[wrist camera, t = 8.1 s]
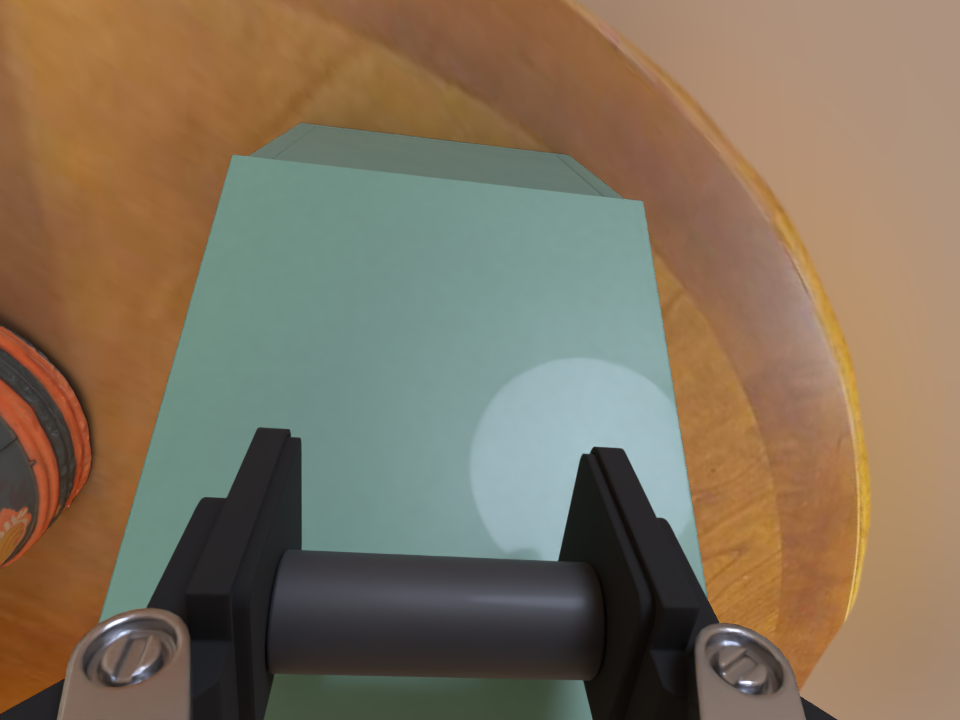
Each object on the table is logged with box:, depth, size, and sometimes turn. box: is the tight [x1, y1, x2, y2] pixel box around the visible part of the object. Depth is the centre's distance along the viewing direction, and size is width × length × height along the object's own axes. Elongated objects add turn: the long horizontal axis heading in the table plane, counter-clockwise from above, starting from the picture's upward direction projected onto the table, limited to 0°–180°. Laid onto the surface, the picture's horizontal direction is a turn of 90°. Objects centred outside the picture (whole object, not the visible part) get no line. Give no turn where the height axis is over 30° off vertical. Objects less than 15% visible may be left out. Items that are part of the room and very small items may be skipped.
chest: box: [249, 123, 624, 199], centre depth 29 cm, size 15×13×11 cm
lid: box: [98, 155, 708, 720], centre depth 15 cm, size 15×13×5 cm
